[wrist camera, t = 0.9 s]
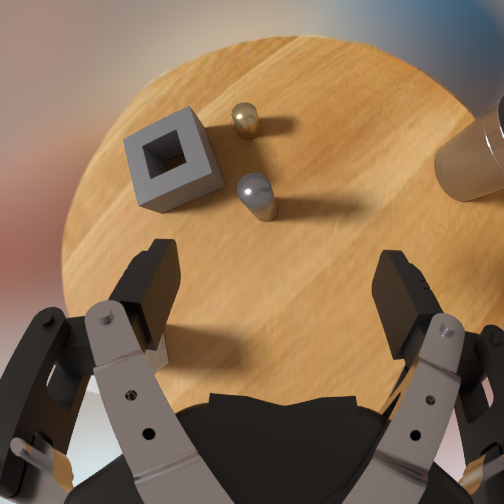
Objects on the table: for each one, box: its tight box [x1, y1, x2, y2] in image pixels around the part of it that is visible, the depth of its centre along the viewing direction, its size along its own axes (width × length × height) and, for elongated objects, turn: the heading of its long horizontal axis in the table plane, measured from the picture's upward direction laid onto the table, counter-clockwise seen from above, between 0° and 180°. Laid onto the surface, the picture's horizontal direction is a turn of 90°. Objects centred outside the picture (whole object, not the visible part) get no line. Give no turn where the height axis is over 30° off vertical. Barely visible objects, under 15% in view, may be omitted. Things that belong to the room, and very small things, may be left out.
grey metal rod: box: [237, 173, 278, 222], centre depth 33 cm, size 3×3×12 cm
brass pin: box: [232, 103, 261, 138], centre depth 37 cm, size 3×3×5 cm
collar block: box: [123, 106, 226, 214], centre depth 37 cm, size 10×10×7 cm
